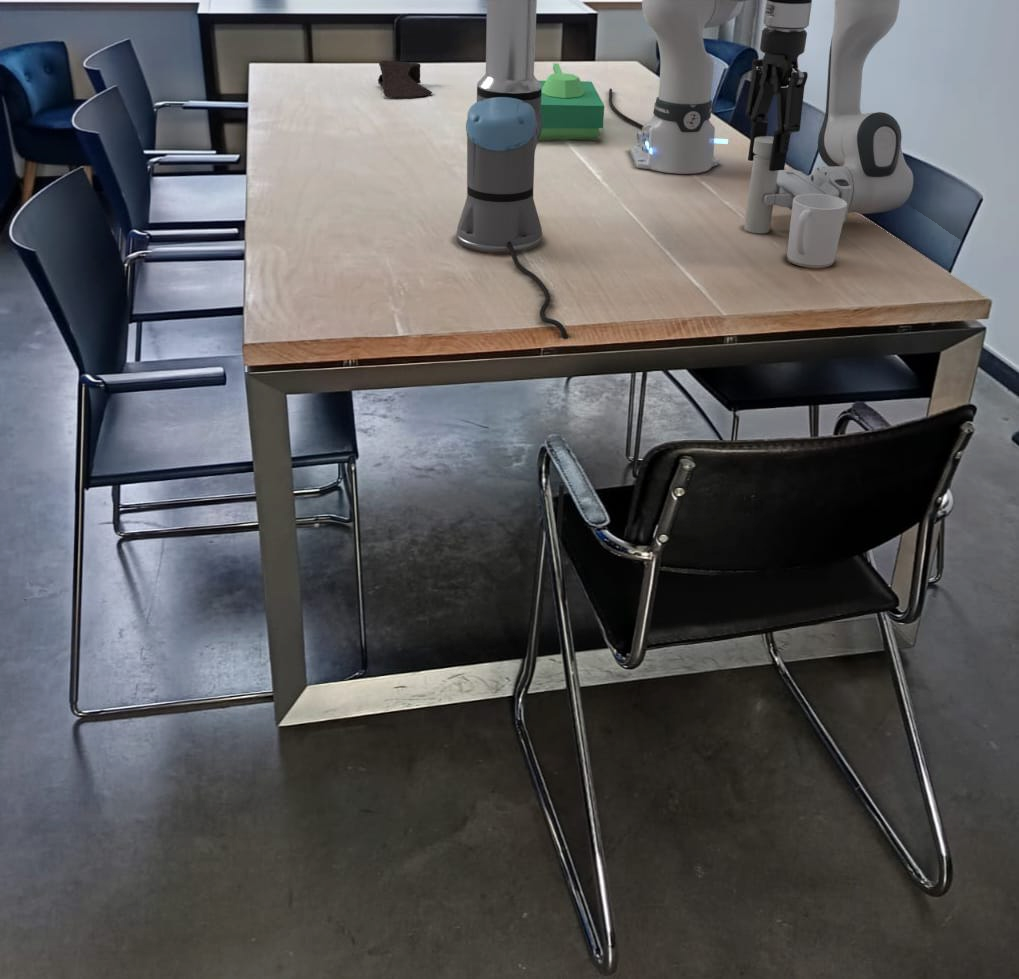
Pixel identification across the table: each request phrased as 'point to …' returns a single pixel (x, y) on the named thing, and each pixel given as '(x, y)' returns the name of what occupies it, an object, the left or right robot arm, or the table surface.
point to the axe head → (401, 79)
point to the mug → (815, 229)
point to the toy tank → (570, 108)
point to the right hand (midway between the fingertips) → (757, 194)
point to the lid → (763, 145)
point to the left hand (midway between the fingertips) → (765, 164)
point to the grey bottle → (760, 195)
